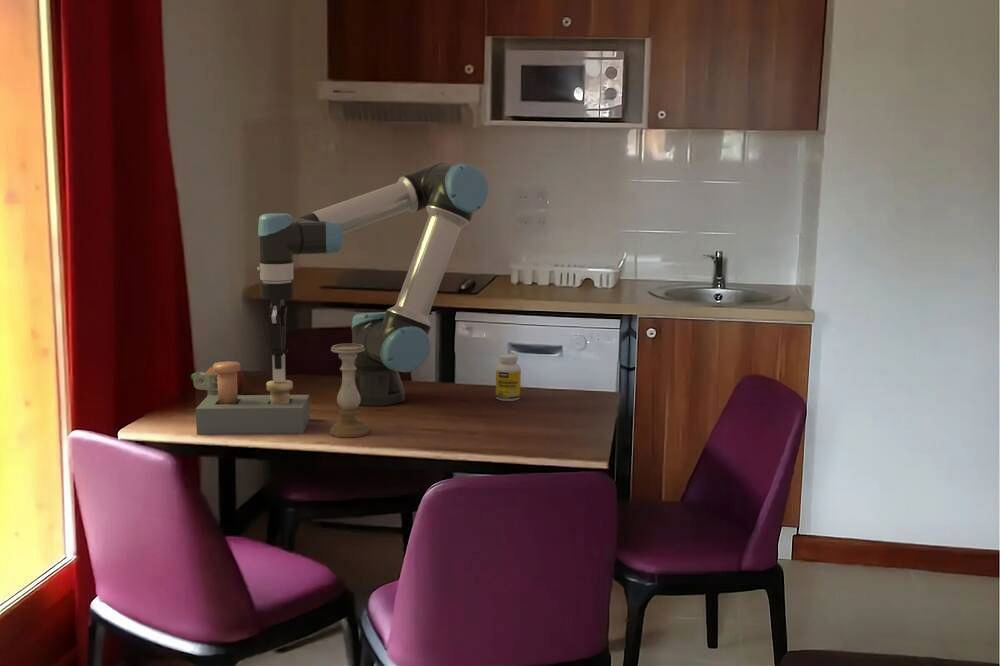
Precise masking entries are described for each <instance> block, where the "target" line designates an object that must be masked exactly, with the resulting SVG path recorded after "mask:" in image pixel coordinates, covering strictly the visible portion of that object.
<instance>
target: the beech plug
mask: <svg viewBox="0 0 1000 666" xmlns="http://www.w3.org/2000/svg"><path fill="white" fill-rule="evenodd" d="M293 388H294V383H293V381H292V380H289V379H286V381H285V382H273V380H269V381H267V382H266V391H268V392H270V393H269V395H270V402H271V404H290V395H291V393H290V391H291V390H293Z"/></svg>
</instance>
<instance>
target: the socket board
mask: <svg viewBox="0 0 1000 666" xmlns="http://www.w3.org/2000/svg"><path fill="white" fill-rule="evenodd" d="M310 415H311V414H310V394H290V404H271V402H270V394H254V395H253V394H252V395H251V394H250V395H249V394H246V395H245V394H238V404H218V395H208V396H207V395H206V397H205V398H203V400H202V401H201V402H200V404H199V405H198V406H197V407H196V408H195V421H196V425H195V426H196V435H255V434H258V435H260V434H261V435H262V434H267V435H268V434H269V435H270V434H271V435H273V434H277V435H278V434H282V435H283V434H304V433H305V430H306V428H307V427H308V424H309V421H310V418H311V417H310Z"/></svg>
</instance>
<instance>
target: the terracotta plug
mask: <svg viewBox="0 0 1000 666" xmlns="http://www.w3.org/2000/svg"><path fill="white" fill-rule="evenodd" d="M226 361H227V362H221V361H219V362H218V361H217V362H214V363H213V364H212V365H213V369H214V372H217V380H218V404H238V395H239V394H238V393H237V371H240V370H241V363H240V362H239V361H228V360H226Z"/></svg>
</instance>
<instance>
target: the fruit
mask: <svg viewBox="0 0 1000 666" xmlns="http://www.w3.org/2000/svg"><path fill="white" fill-rule="evenodd" d="M227 361H228V360H226V359H224V360H221V361H220V362H227ZM206 372H209V373H217V372H214V369H213V366H211V367H209V368H208V369H207V370H206ZM245 379H246V378H245V376H244V373H243V371H242V370H241V369H240V371H237V393H238V395H240V393H241V392H242V391H243V389H244V387H245V381H246V380H245ZM206 392H207V393H208V391H207V390H206ZM217 394H218V390H217Z"/></svg>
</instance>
